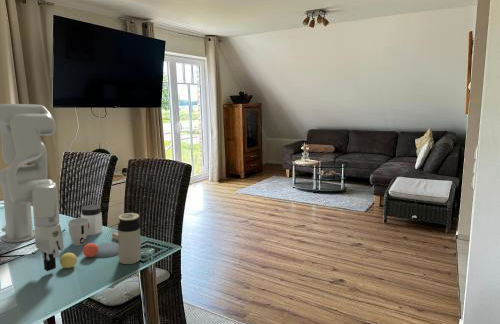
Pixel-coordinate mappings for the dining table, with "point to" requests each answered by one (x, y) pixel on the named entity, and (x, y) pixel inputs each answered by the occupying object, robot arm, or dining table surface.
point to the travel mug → (129, 238)
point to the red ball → (90, 250)
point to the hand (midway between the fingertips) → (50, 269)
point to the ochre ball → (68, 260)
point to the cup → (79, 230)
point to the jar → (93, 218)
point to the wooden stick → (115, 237)
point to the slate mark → (107, 250)
